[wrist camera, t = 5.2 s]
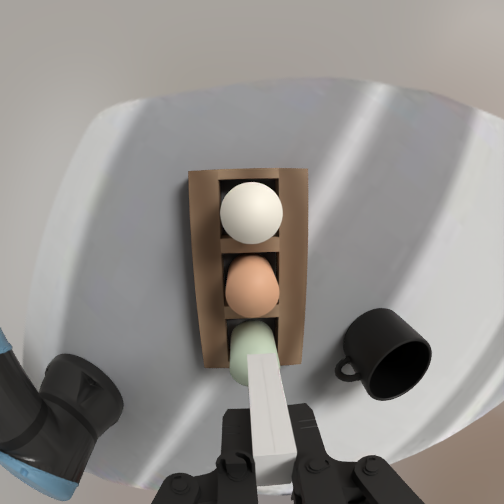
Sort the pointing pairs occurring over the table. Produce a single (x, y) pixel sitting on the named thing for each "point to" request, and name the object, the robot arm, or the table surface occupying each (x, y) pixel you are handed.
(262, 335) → the pale green egg
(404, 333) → the mug
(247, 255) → the peach egg
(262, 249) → the wooden tray
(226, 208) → the white egg
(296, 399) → the table surface
